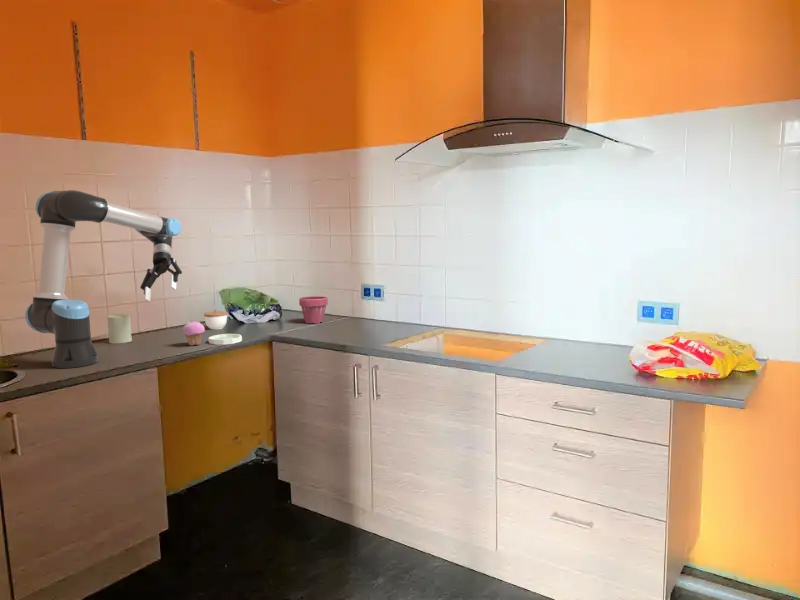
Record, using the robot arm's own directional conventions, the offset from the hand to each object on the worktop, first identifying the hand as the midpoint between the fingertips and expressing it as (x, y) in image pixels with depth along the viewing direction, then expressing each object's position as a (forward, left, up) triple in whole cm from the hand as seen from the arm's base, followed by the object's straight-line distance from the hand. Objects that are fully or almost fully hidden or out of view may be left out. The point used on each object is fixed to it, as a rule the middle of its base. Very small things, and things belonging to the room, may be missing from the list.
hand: (160, 294), depth 253 cm
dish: (+18, -18, -21) cm, 33 cm away
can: (-7, +22, -22) cm, 32 cm away
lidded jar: (+36, +12, -22) cm, 44 cm away
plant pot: (+74, -17, -22) cm, 79 cm away
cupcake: (+6, -13, -22) cm, 26 cm away
